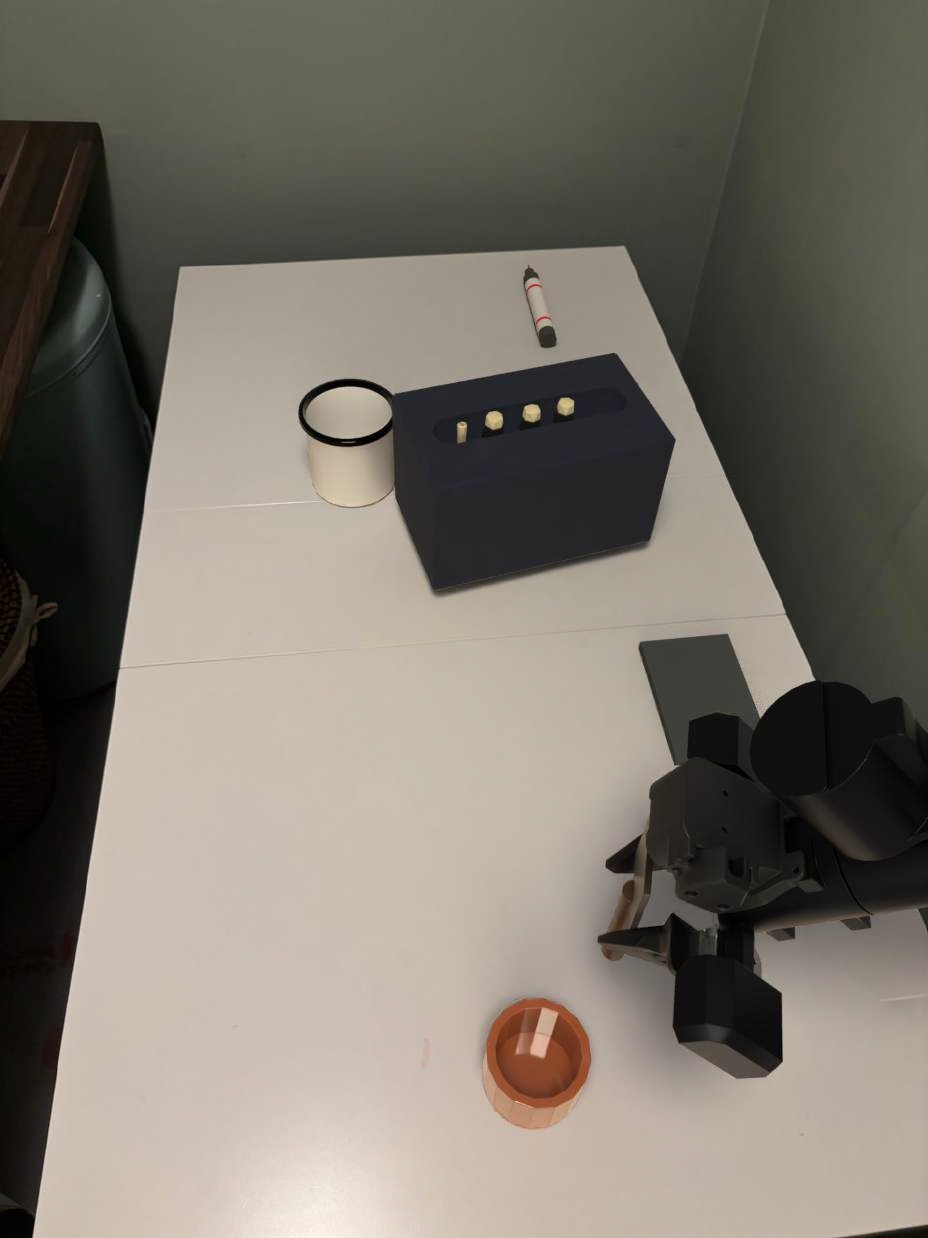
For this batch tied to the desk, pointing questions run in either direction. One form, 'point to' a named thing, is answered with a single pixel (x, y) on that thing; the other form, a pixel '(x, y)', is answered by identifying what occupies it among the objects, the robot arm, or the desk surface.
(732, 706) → the mat
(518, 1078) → the crock
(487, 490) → the speaker
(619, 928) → the spatula
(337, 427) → the mug
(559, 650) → the desk surface
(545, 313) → the marker
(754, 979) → the robot arm
